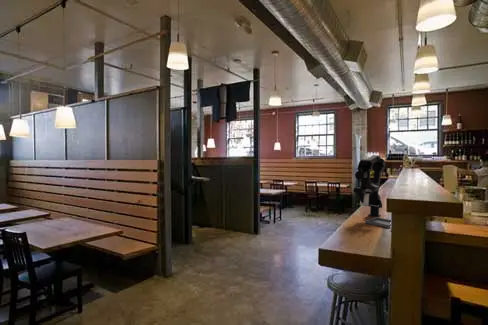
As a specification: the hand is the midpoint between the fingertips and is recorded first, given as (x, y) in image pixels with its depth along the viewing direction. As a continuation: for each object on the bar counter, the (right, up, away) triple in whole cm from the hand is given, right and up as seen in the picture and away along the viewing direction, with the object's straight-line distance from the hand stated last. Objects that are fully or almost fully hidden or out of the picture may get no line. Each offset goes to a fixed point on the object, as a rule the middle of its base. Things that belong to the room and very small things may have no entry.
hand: (364, 202), depth 206 cm
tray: (+8, -13, -9) cm, 17 cm away
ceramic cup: (0, -2, 0) cm, 2 cm away
